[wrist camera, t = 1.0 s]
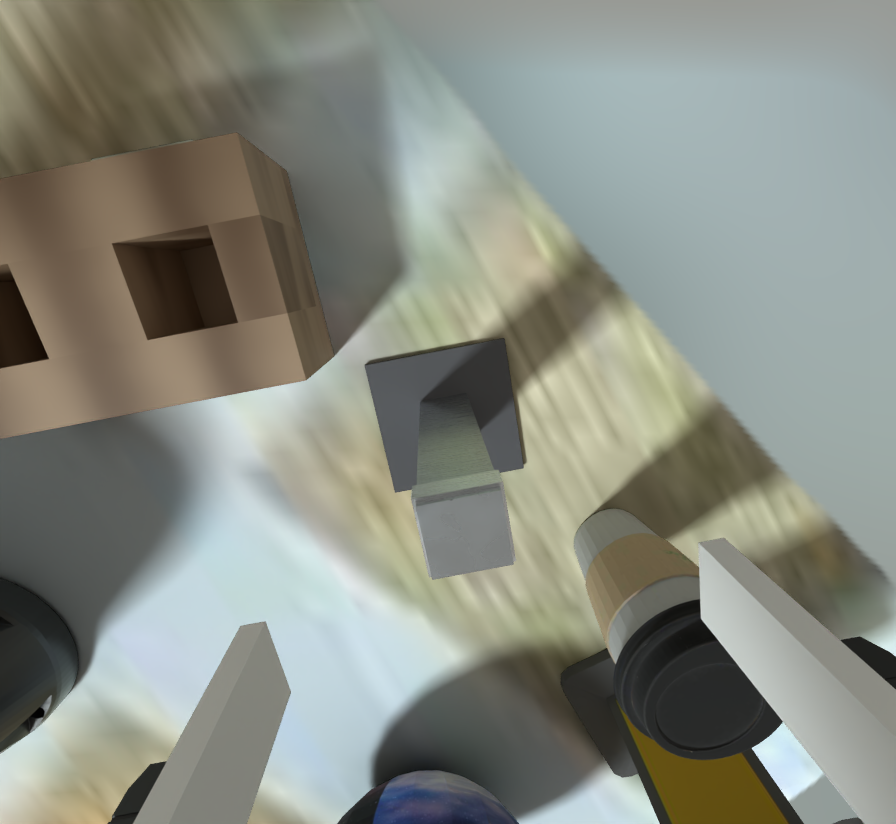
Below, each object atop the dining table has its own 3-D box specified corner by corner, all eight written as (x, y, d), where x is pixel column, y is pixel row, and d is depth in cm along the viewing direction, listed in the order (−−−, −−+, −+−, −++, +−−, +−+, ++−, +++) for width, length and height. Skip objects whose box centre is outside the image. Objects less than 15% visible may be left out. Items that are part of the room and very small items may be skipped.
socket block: (57, 409, 33) (-56, 449, 25) (-26, 224, 29) (-187, 205, 21) (334, 356, 32) (306, 380, 25) (284, 163, 29) (234, 122, 21)
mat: (395, 490, 36) (395, 492, 35) (365, 364, 33) (364, 365, 32) (522, 466, 36) (523, 468, 35) (503, 338, 33) (504, 338, 32)
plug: (427, 447, 34) (429, 583, 19) (417, 399, 33) (410, 503, 18) (476, 437, 34) (517, 566, 19) (468, 390, 33) (504, 486, 18)
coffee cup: (685, 511, 37) (849, 657, 23) (630, 603, 40) (747, 789, 25) (583, 472, 36) (689, 601, 22) (531, 570, 38) (596, 746, 24)
